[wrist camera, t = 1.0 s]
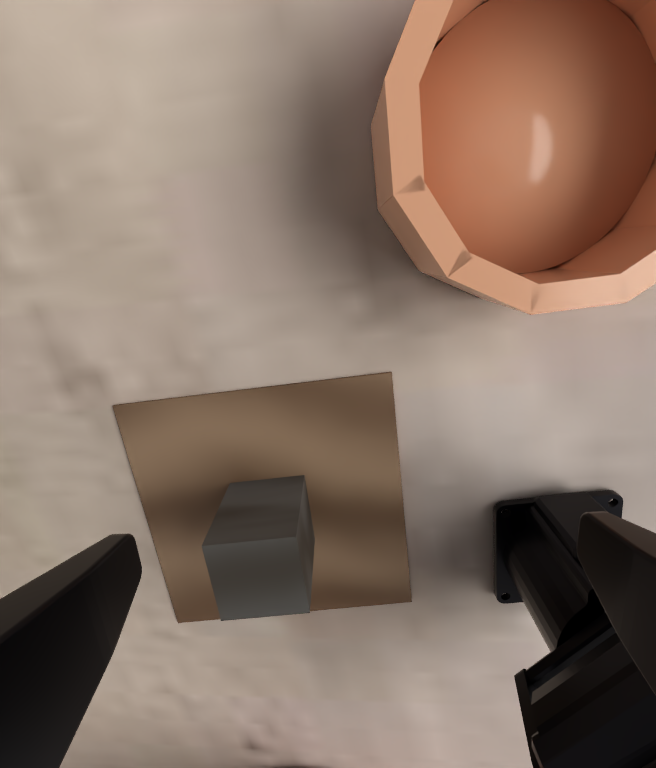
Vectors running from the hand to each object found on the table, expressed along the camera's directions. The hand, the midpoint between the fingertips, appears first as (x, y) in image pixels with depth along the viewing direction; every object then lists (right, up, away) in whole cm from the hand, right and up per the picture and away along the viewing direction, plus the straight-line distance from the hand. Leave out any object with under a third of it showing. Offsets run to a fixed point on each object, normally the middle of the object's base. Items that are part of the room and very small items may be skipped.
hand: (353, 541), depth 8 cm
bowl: (+7, +13, +9) cm, 17 cm away
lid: (-3, -3, +15) cm, 16 cm away
